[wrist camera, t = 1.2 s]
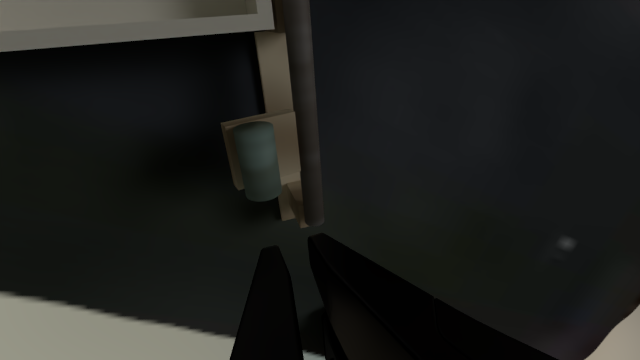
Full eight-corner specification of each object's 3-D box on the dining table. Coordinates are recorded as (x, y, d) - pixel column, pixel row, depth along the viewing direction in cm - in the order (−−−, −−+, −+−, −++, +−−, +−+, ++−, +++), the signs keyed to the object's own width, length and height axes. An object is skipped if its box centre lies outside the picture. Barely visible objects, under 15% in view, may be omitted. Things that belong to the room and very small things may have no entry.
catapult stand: (443, 179, 25) (473, 198, 23) (281, 217, 22) (293, 246, 19) (488, -158, 16) (549, -195, 13) (222, -181, 13) (229, -237, 10)
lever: (466, 156, 24) (498, 167, 22) (245, 241, 17) (263, 269, 15) (525, -194, 15) (585, -226, 13) (117, -342, 8) (119, -464, 6)
